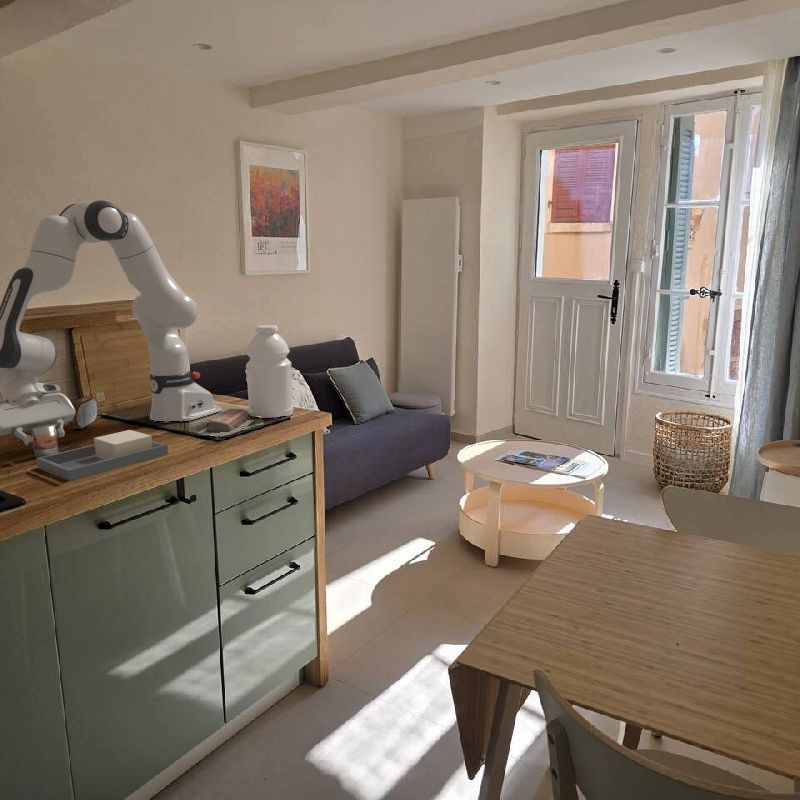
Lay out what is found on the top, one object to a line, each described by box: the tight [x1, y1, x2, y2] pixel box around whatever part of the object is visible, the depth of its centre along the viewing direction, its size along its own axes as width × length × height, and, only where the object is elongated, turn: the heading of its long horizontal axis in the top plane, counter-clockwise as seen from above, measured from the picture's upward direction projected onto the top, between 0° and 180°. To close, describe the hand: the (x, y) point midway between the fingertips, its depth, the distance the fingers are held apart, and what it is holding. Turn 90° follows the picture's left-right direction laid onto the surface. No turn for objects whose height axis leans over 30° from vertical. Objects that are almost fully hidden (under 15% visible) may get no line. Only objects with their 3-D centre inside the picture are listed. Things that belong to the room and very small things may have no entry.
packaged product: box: [197, 408, 249, 435], centre depth 212 cm, size 18×5×10 cm
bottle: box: [245, 324, 294, 417], centre depth 226 cm, size 14×14×28 cm
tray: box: [35, 440, 169, 482], centre depth 181 cm, size 26×16×3 cm, turn 141°
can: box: [30, 424, 60, 458], centre depth 187 cm, size 6×6×8 cm
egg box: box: [93, 429, 153, 460], centre depth 185 cm, size 10×10×5 cm
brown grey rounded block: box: [68, 395, 99, 430], centre depth 217 cm, size 15×3×8 cm, turn 178°
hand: (45, 439), depth 187 cm, fingers open, 7 cm apart
